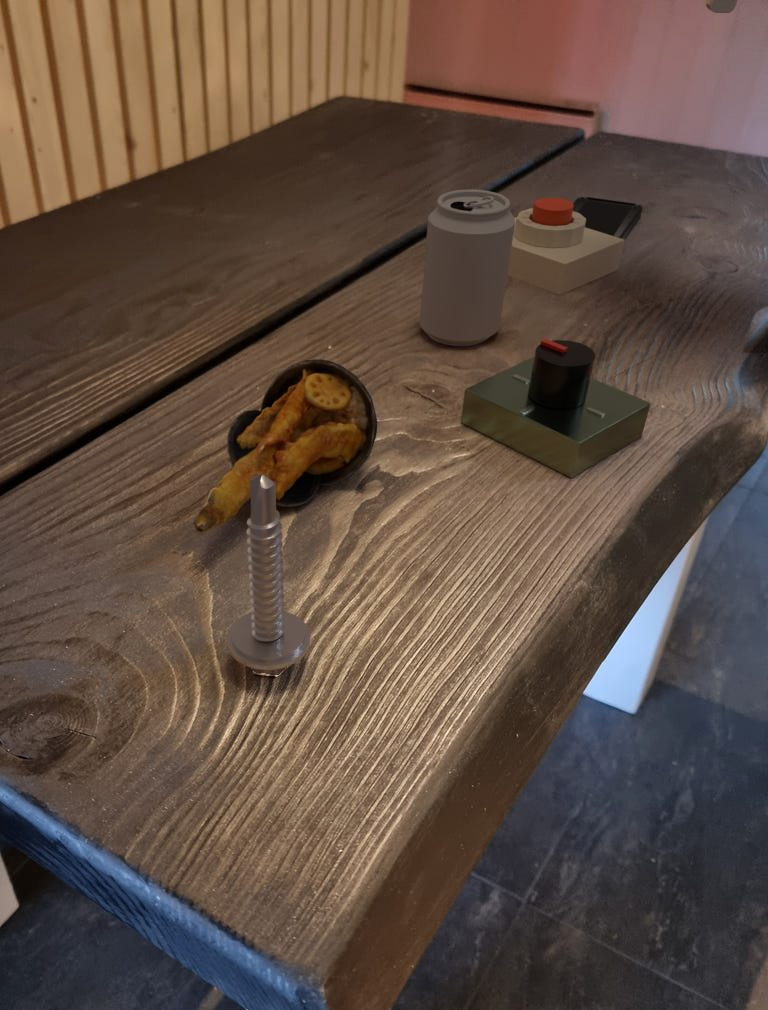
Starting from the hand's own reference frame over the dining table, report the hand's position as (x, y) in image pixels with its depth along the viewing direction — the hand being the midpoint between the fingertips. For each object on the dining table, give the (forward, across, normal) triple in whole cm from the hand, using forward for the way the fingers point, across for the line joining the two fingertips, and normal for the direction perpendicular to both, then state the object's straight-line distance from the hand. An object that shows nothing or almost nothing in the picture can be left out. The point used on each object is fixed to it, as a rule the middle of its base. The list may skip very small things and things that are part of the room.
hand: (699, 1), depth 74 cm
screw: (+26, -51, +33) cm, 66 cm away
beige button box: (+25, +11, +6) cm, 28 cm away
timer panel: (+25, -24, +12) cm, 36 cm away
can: (+26, -6, +17) cm, 31 cm away
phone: (+25, +22, -2) cm, 33 cm away
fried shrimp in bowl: (+26, -33, +33) cm, 53 cm away
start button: (+21, +11, +6) cm, 24 cm away
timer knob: (+22, -24, +12) cm, 34 cm away
